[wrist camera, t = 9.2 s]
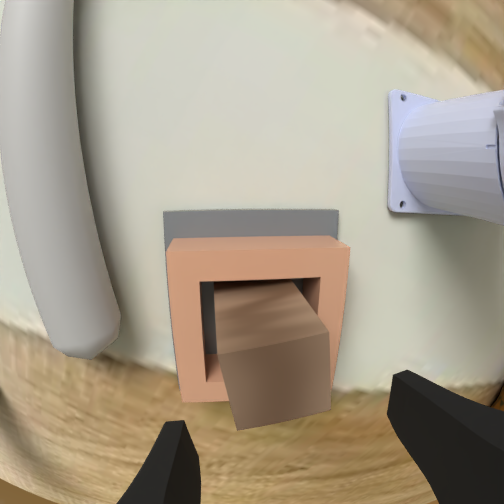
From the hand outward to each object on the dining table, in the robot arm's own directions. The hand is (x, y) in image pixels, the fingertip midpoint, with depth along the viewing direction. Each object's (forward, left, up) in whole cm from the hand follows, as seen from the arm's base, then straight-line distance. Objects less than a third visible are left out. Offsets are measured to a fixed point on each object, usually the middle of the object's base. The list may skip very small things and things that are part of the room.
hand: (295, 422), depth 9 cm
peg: (0, 0, -10) cm, 10 cm away
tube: (+12, -10, -11) cm, 19 cm away
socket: (0, 0, -10) cm, 10 cm away
